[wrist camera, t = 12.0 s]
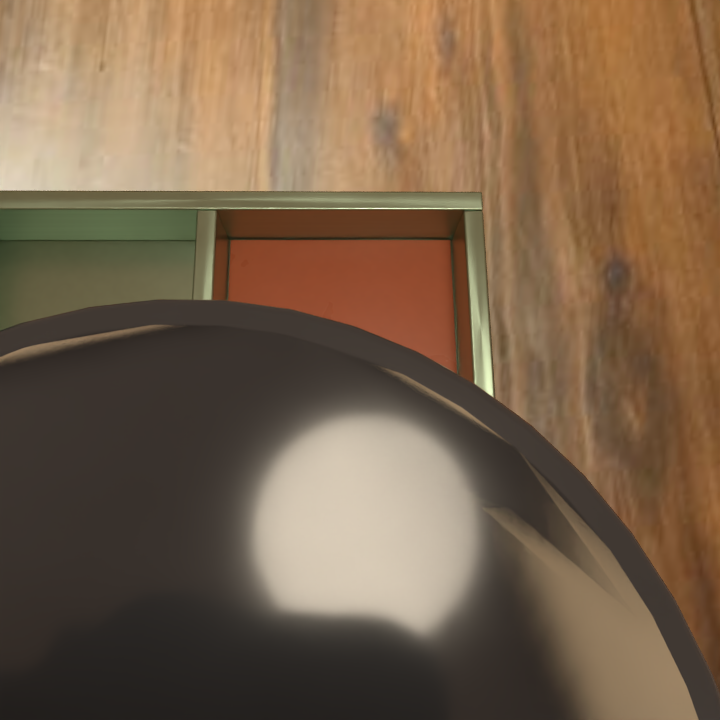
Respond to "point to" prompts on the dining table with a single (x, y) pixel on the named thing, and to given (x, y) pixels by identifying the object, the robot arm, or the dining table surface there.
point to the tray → (262, 259)
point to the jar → (305, 535)
